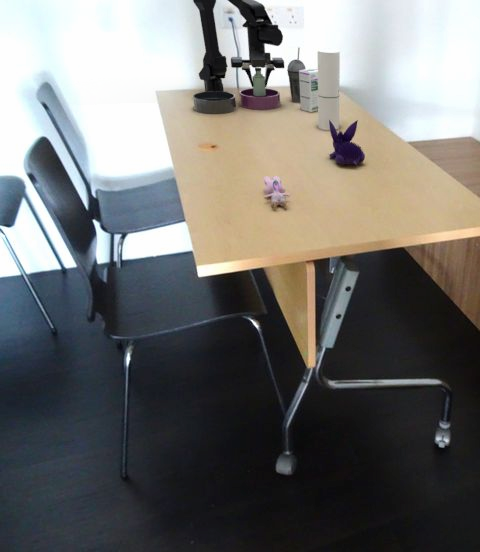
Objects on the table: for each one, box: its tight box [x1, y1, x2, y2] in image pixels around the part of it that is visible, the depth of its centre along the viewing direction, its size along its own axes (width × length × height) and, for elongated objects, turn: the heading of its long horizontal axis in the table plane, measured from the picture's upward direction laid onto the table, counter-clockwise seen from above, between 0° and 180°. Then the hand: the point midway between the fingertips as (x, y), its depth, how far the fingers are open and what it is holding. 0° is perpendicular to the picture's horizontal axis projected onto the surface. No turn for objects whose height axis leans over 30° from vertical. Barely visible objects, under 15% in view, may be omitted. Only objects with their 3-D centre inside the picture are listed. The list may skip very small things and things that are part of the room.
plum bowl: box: [238, 87, 281, 111], centre depth 213 cm, size 15×15×5 cm
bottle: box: [252, 67, 266, 96], centre depth 209 cm, size 4×4×10 cm
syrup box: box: [299, 67, 318, 113], centre depth 211 cm, size 6×6×14 cm
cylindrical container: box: [317, 48, 341, 131], centre depth 190 cm, size 7×7×25 cm
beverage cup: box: [286, 46, 307, 104], centre depth 219 cm, size 7×7×20 cm
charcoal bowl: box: [192, 90, 237, 115], centre depth 205 cm, size 15×15×5 cm
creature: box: [328, 119, 366, 166], centre depth 165 cm, size 9×18×12 cm, turn 27°
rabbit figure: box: [263, 175, 291, 210], centre depth 140 cm, size 6×6×15 cm
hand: (259, 86), depth 210 cm, fingers closed on bottle, 4 cm apart
